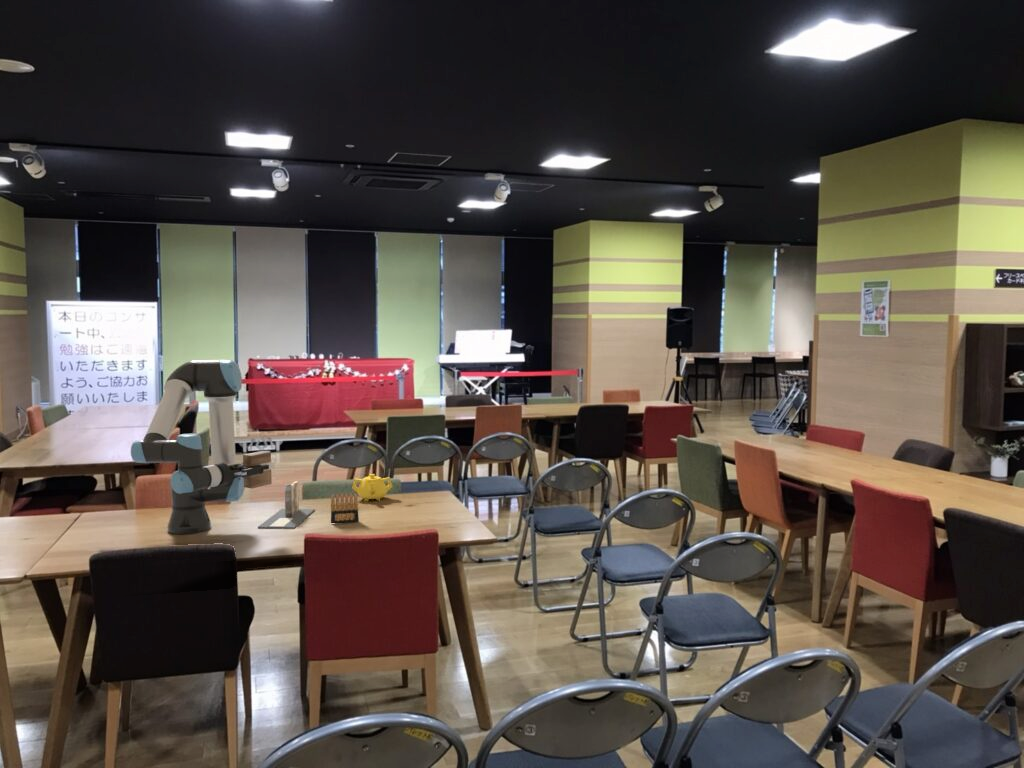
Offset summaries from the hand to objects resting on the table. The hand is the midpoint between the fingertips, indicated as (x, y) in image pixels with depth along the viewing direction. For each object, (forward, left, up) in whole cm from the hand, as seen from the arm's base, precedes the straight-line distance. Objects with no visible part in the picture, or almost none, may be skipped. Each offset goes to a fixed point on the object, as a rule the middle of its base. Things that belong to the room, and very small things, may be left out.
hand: (268, 464), depth 285 cm
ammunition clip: (+14, +25, -26) cm, 39 cm away
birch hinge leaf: (-12, +22, -25) cm, 36 cm away
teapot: (-3, +60, -26) cm, 65 cm away
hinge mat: (-9, +17, -26) cm, 32 cm away
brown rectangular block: (0, -5, -7) cm, 9 cm away
